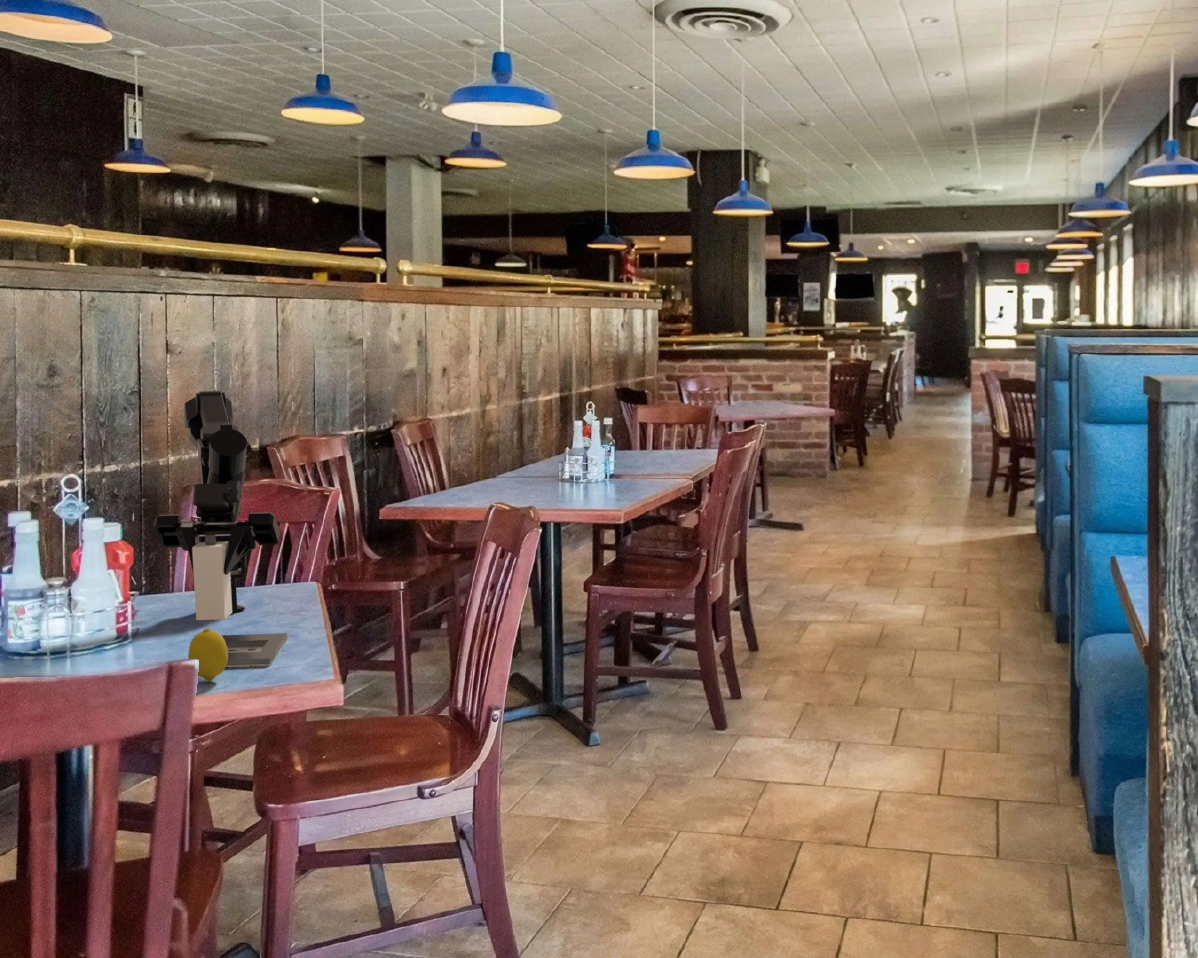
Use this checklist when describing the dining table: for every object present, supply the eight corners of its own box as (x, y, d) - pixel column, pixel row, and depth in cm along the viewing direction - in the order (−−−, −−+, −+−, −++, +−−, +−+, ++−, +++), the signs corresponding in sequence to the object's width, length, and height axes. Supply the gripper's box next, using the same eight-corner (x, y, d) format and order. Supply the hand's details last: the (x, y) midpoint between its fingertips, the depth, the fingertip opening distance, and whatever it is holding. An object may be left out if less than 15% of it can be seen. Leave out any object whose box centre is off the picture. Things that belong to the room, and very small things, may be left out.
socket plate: (213, 642, 204) (213, 635, 204) (287, 640, 205) (287, 633, 205) (189, 668, 188) (189, 661, 188) (269, 665, 189) (269, 658, 189)
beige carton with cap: (204, 613, 197) (199, 532, 196) (232, 612, 197) (228, 532, 196) (196, 620, 192) (191, 537, 191) (224, 619, 193) (220, 537, 191)
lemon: (237, 677, 183) (234, 625, 182) (213, 688, 178) (211, 633, 177) (205, 675, 185) (202, 622, 184) (181, 685, 180) (178, 631, 179)
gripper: (153, 464, 196) (135, 545, 186) (272, 462, 197) (261, 542, 187) (170, 506, 204) (154, 586, 195) (284, 504, 205) (274, 582, 196)
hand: (210, 573), depth 193 cm, fingers closed on beige carton with cap, 4 cm apart
